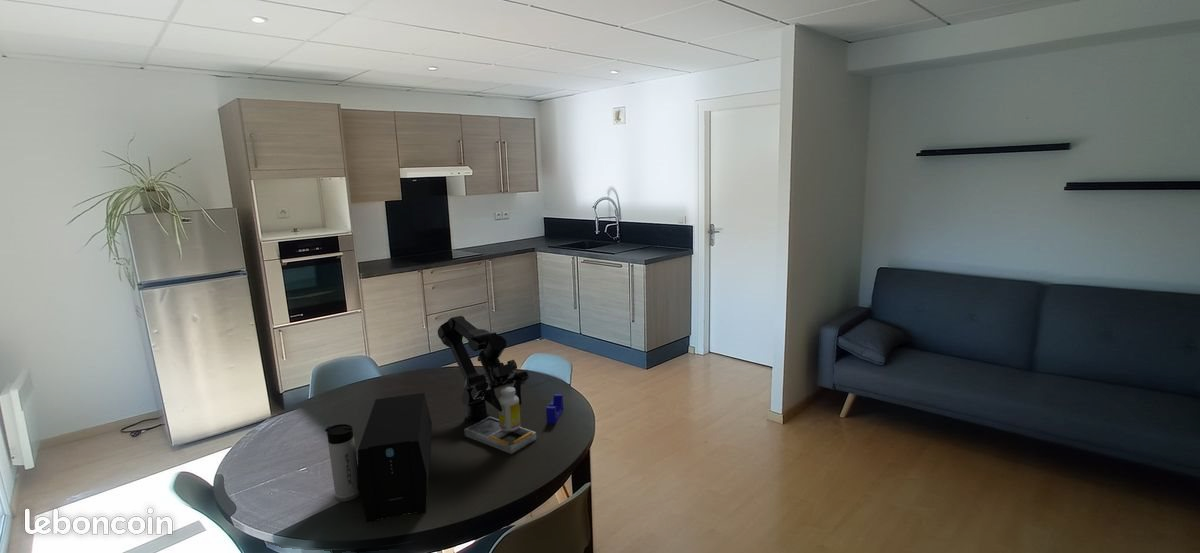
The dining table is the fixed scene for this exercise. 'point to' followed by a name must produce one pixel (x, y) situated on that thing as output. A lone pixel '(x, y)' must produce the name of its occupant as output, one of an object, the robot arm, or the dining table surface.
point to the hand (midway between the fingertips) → (511, 407)
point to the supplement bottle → (509, 409)
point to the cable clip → (554, 409)
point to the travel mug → (343, 461)
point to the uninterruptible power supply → (395, 457)
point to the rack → (498, 435)
